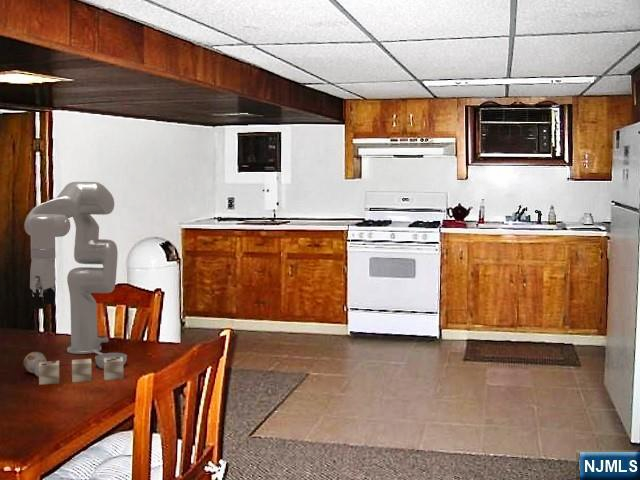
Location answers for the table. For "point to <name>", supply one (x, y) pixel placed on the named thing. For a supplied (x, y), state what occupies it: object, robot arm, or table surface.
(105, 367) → the pip block
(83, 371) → the plain block
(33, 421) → the table surface
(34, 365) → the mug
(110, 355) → the small pan
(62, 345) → the table surface
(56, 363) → the pip block
